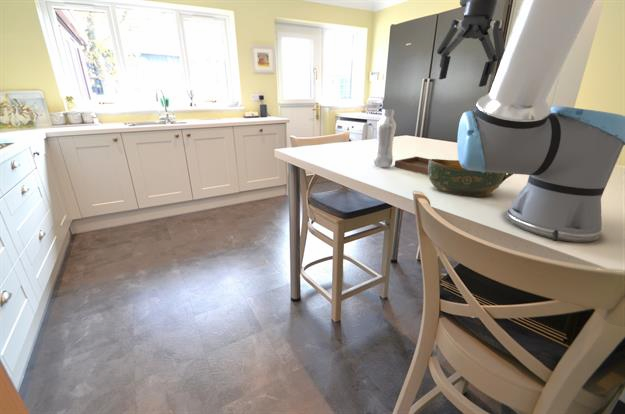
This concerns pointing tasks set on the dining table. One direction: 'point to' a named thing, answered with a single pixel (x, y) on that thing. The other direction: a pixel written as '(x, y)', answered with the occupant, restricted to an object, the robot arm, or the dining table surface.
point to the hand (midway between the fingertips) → (461, 82)
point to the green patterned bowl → (462, 179)
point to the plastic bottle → (385, 139)
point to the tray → (414, 164)
